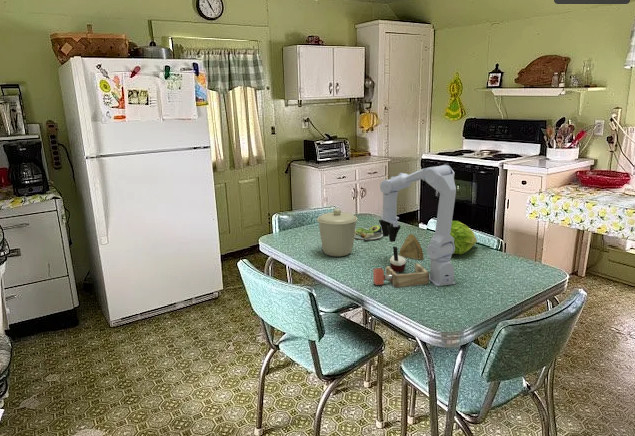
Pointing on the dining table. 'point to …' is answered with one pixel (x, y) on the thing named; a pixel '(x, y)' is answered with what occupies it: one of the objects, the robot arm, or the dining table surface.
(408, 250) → the rock
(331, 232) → the canister
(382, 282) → the lock pin
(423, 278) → the dock
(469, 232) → the lettuce
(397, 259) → the cocoa
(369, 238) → the salad plate
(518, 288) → the dining table surface
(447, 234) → the robot arm
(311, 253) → the dining table surface
